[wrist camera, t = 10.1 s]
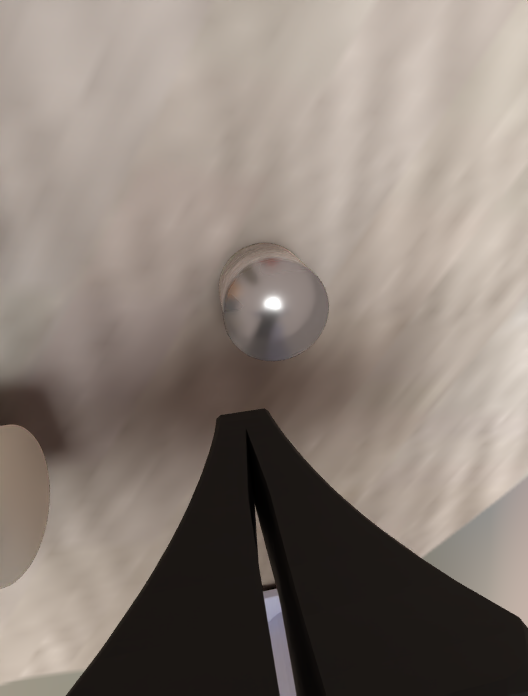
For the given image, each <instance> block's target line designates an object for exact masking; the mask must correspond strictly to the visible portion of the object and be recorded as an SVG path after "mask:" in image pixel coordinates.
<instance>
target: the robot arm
mask: <svg viewBox="0 0 528 696" xmlns="http://www.w3.org/2000/svg"><path fill="white" fill-rule="evenodd" d="M255 507H256V510H257V514H258V518H259V522H260V526H261V530H262V533H263V537H264V541H265V545H266V549H267V552H268V556H269V560H270V564H271V568H272V571H273V575H274V579H275V583H276V587H277V589H272V590H267V591H263V589H262V583H261V576H260V570H259V564H258V548H257V533H256V518H255ZM66 696H528V628H527V626H526V625H525V624H524V623H523V622H522V621H521V619H520V618H519V617H517V616H516V615H514V614H512V613H510V612H509V611H507V610H505V609H504V608H502V607H500V606H498V605H497V604H495V603H493V602H491V601H490V600H488V599H486V598H485V597H483V596H481V595H479V594H478V593H476V592H474V591H472V590H471V589H469V588H467V587H465V586H464V585H462V584H460V583H459V582H457V581H455V580H454V579H452V578H451V577H449V576H448V575H446V574H445V573H443V572H441V571H440V570H438V569H437V568H435V567H434V566H432V565H431V564H429V563H428V562H426V561H425V560H423V559H422V558H420V557H419V556H417V555H416V554H415V553H413V552H412V551H410V550H409V549H408V548H406V547H405V546H404V545H402V544H401V543H399V542H398V541H397V540H395V539H394V538H392V537H391V536H390V535H388V534H387V533H386V532H384V531H383V530H381V529H380V528H379V527H377V526H376V525H375V524H374V523H372V522H371V521H370V520H369V519H367V518H366V517H365V516H364V515H363V514H361V513H360V512H359V511H358V510H356V509H355V508H354V507H353V506H352V505H351V504H350V503H348V502H347V501H346V500H345V499H344V498H343V497H342V496H341V495H339V494H338V493H337V492H336V491H335V490H334V489H333V488H332V487H331V486H330V485H329V484H328V483H327V482H326V481H325V480H324V479H323V478H322V477H321V476H320V475H319V474H318V473H317V472H316V471H315V470H314V469H313V468H312V467H311V466H310V465H309V464H308V462H307V461H306V460H305V459H304V458H303V457H302V456H301V454H300V453H299V452H298V451H297V450H296V449H295V447H294V446H293V445H292V444H291V443H290V441H289V440H288V439H287V438H286V436H285V435H284V434H283V432H282V431H281V430H280V428H279V427H278V425H277V424H276V423H275V421H274V420H273V418H272V416H271V415H270V413H269V411H267V410H266V409H265V408H264V409H258V410H251V411H245V412H238V413H232V414H225V415H220V416H219V417H218V418H217V419H216V428H215V433H214V437H213V441H212V445H211V448H210V452H209V455H208V458H207V460H206V463H205V466H204V469H203V472H202V475H201V477H200V480H199V482H198V485H197V487H196V489H195V492H194V494H193V496H192V499H191V501H190V503H189V506H188V508H187V510H186V512H185V514H184V516H183V518H182V520H181V522H180V524H179V526H178V528H177V530H176V532H175V534H174V536H173V538H172V539H171V541H170V543H169V545H168V547H167V549H166V550H165V552H164V554H163V555H162V557H161V559H160V561H159V562H158V564H157V566H156V567H155V569H154V571H153V573H152V574H151V576H150V577H149V579H148V581H147V582H146V584H145V585H144V587H143V589H142V590H141V592H140V593H139V595H138V596H137V598H136V599H135V601H134V602H133V604H132V605H131V607H130V608H129V610H128V611H127V612H126V614H125V615H124V617H123V618H122V620H121V621H120V623H119V624H118V626H117V627H116V629H115V630H114V632H113V633H112V634H111V636H110V637H109V639H108V640H107V642H106V643H105V645H104V646H103V647H102V649H101V650H100V651H99V653H98V654H97V656H96V657H95V658H94V660H93V661H92V662H91V664H90V665H89V666H88V667H87V669H86V670H85V671H84V673H83V674H82V675H81V677H80V678H79V679H78V680H77V682H76V683H75V685H74V686H73V687H72V688H71V690H70V691H69V692H68V694H67V695H66Z"/></svg>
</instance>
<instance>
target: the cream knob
mask: <svg viewBox="0 0 528 696" xmlns="http://www.w3.org/2000/svg"><path fill="white" fill-rule="evenodd" d="M49 501H50V485H49V475H48V468H47V464H46V460H45V457H44V454H43V451H42V449H41V447H40V445H39V443H38V441H37V440H36V438H35V437H34V436H33V435H32V434H31V433H30V432H29V431H28V430H27V429H25V428H23V427H22V426H18V425H12V424H11V425H3V426H0V589H1V588H5V587H7V586H10V585H11V584H13V583H14V582H16V581H17V580H18V579H19V578H20V577H21V576H22V575H23V574H24V573H25V572H26V571H27V569H28V568H29V566H30V565H31V563H32V561H33V560H34V558H35V556H36V554H37V552H38V550H39V547H40V544H41V542H42V539H43V536H44V532H45V528H46V524H47V518H48V512H49Z"/></svg>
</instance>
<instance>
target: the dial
mask: <svg viewBox="0 0 528 696" xmlns="http://www.w3.org/2000/svg"><path fill="white" fill-rule="evenodd" d="M219 295H220V300H221V306H222V312H223V317H224V323H225V327H226V330H227V333H228V335H229V337H230V339H231V340H232V342H233V343H234V344H235V345H236V346H237V347H238V348H239V349H240V350H241V351H242V352H244V353H245V354H247V355H249V356H251V357H253V358H256V359H260V360H265V361H280V360H285V359H289V358H292V357H294V356H296V355H299V354H300V353H302V352H304V351H305V350H306V349H308V348H309V347H310V346H311V345H312V344H313V343H314V342H315V341H316V340H317V339H318V337H319V336H320V334H321V333H322V331H323V329H324V327H325V324H326V321H327V318H328V311H329V303H328V296H327V293H326V290H325V287H324V286H323V284H322V282H321V281H320V279H319V278H318V277H317V276H316V275H315V274H314V273H313V272H312V271H311V270H310V269H309V268H308V267H307V266H306V265H305V264H304V263H302V262H301V261H300V260H299V259H298V258H297V257H296V256H295V255H294V254H293V253H291V252H290V251H289V250H287V249H286V248H284V247H282V246H279V245H276V244H272V243H258V244H253V245H250V246H247V247H245V248H243V249H241V250H240V251H238V252H237V253H235V254H234V255H233V256H232V257H231V258H230V259H229V260H228V262H227V263H226V265H225V267H224V269H223V271H222V273H221V276H220V281H219Z"/></svg>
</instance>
